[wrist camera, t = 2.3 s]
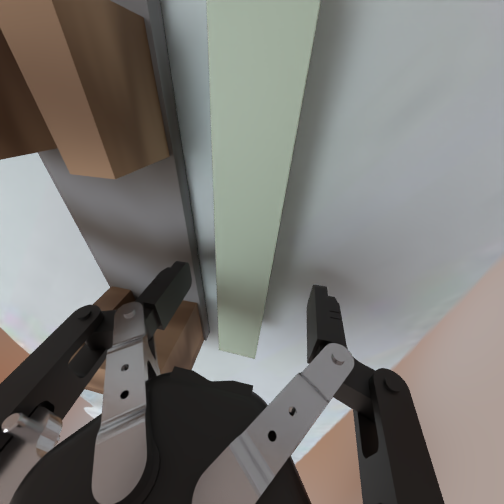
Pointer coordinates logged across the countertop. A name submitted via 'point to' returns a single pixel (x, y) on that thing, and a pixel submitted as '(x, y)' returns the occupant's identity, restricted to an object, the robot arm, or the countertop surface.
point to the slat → (253, 146)
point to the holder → (107, 145)
